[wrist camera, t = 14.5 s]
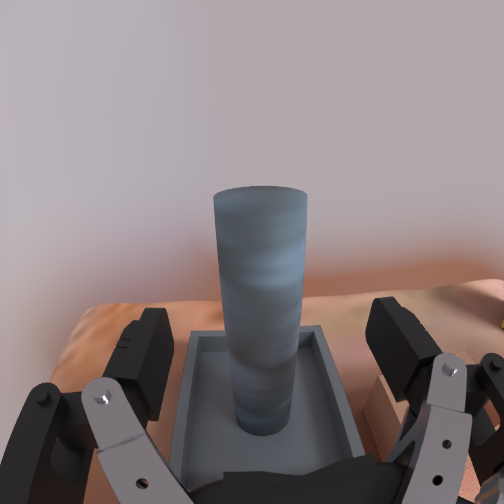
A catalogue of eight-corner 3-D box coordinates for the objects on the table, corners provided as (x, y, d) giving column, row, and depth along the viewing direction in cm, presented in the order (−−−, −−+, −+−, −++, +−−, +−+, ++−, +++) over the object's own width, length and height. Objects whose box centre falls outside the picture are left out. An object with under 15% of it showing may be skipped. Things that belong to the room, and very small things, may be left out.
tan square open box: (446, 383, 19) (465, 350, 17) (486, 455, 10) (517, 425, 9) (362, 408, 19) (378, 375, 17) (394, 503, 10) (425, 484, 8)
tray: (316, 347, 26) (320, 324, 25) (359, 494, 12) (374, 482, 10) (195, 353, 26) (191, 330, 25) (177, 508, 11) (164, 498, 10)
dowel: (285, 393, 20) (297, 185, 14) (292, 433, 16) (318, 204, 10) (236, 396, 20) (217, 187, 14) (236, 437, 16) (208, 208, 10)
